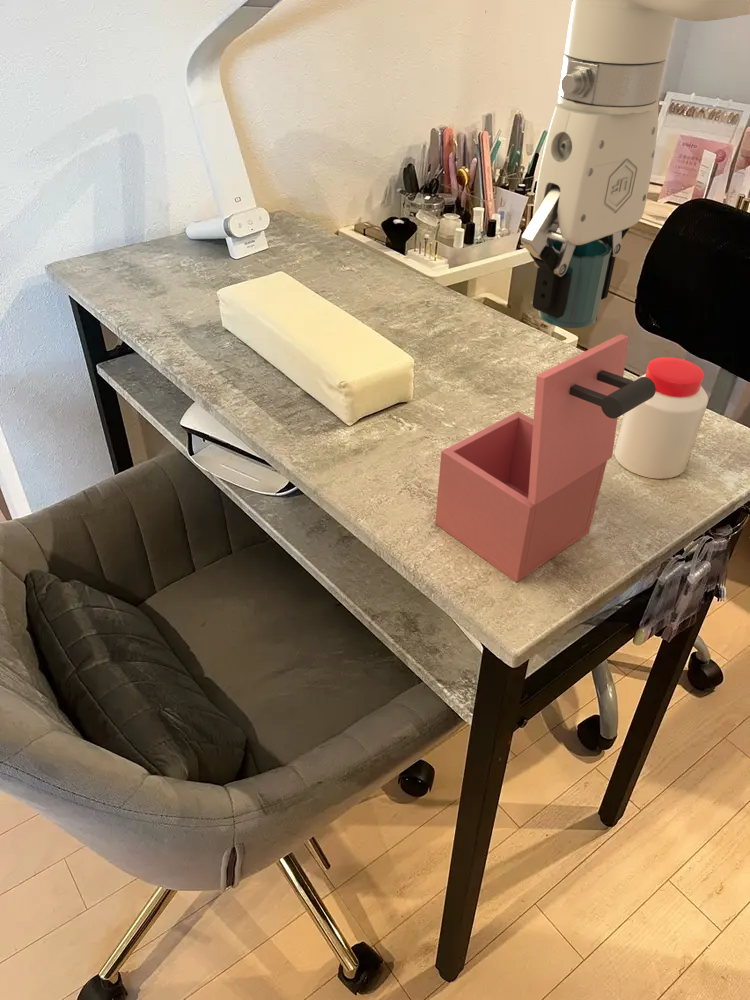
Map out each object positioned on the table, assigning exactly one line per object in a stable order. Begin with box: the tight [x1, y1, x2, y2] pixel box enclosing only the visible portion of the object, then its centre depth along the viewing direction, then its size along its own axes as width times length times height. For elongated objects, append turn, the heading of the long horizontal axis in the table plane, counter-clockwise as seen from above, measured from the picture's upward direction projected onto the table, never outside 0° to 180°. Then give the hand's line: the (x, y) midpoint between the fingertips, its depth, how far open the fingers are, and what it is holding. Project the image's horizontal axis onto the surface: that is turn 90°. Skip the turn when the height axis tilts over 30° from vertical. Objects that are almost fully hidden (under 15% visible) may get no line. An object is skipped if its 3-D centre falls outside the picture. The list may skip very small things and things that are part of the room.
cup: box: [537, 240, 612, 329], centre depth 69 cm, size 5×5×6 cm
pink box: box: [434, 410, 608, 583], centre depth 72 cm, size 11×11×9 cm
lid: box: [528, 333, 656, 505], centre depth 61 cm, size 12×11×6 cm
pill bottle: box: [613, 356, 709, 480], centre depth 81 cm, size 8×8×11 cm
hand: (570, 301), depth 71 cm, fingers closed on cup, 5 cm apart
